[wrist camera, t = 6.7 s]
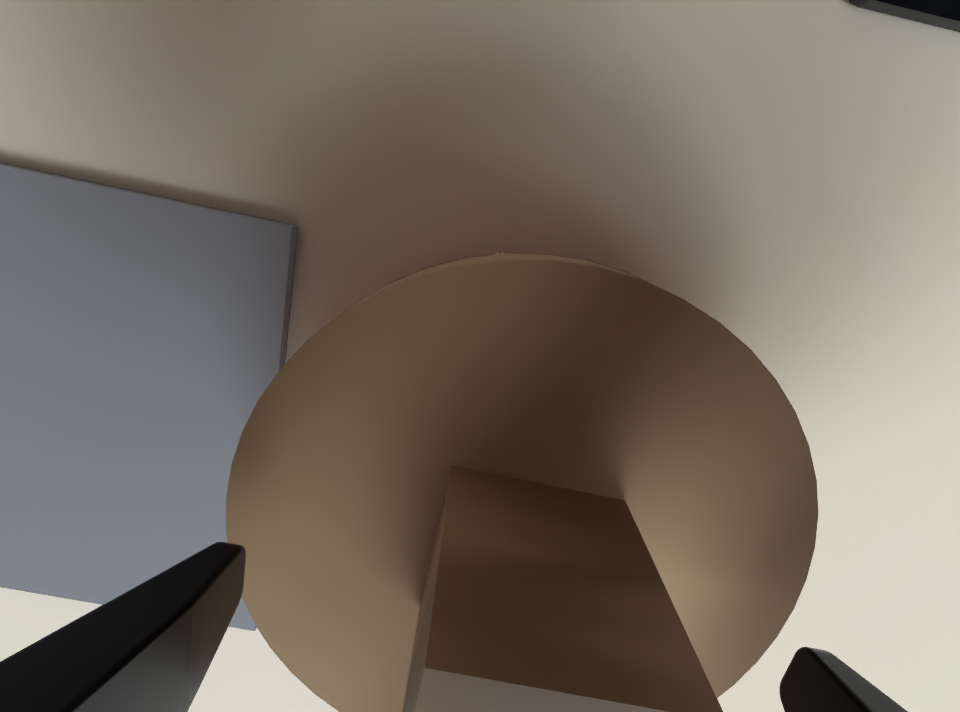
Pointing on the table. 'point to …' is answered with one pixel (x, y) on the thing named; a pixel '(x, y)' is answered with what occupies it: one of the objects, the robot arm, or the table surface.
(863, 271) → the table surface
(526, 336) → the lid
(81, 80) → the table surface
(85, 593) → the mat
